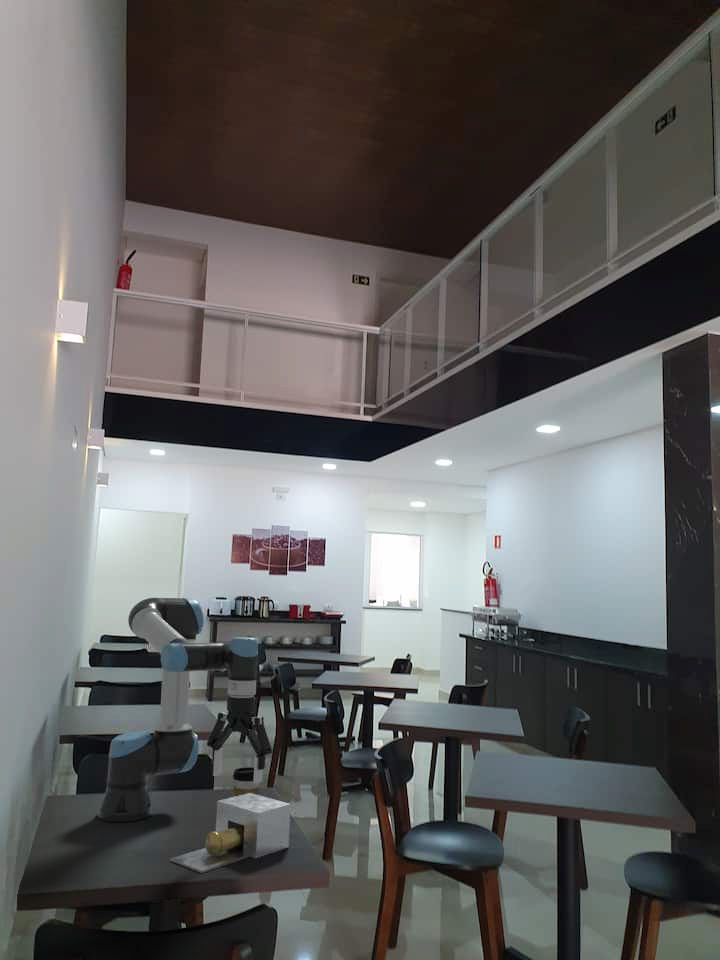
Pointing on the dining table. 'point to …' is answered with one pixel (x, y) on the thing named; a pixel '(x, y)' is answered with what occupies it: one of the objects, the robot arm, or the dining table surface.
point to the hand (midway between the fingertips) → (237, 778)
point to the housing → (245, 831)
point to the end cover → (224, 840)
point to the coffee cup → (245, 781)
